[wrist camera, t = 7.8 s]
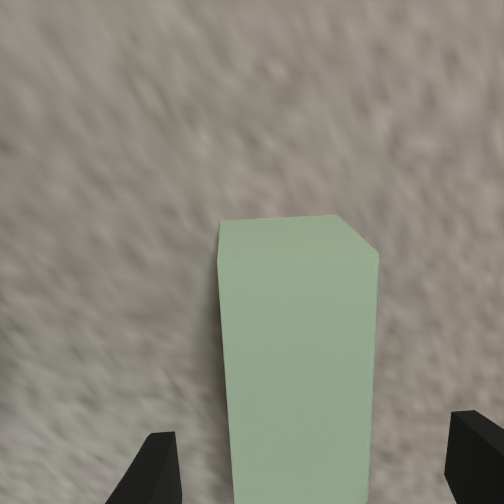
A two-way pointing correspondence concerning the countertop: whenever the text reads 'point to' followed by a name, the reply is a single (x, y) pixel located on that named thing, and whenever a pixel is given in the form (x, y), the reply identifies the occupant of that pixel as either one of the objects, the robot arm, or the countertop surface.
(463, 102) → the countertop surface
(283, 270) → the green brick
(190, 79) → the countertop surface
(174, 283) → the countertop surface
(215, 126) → the countertop surface
